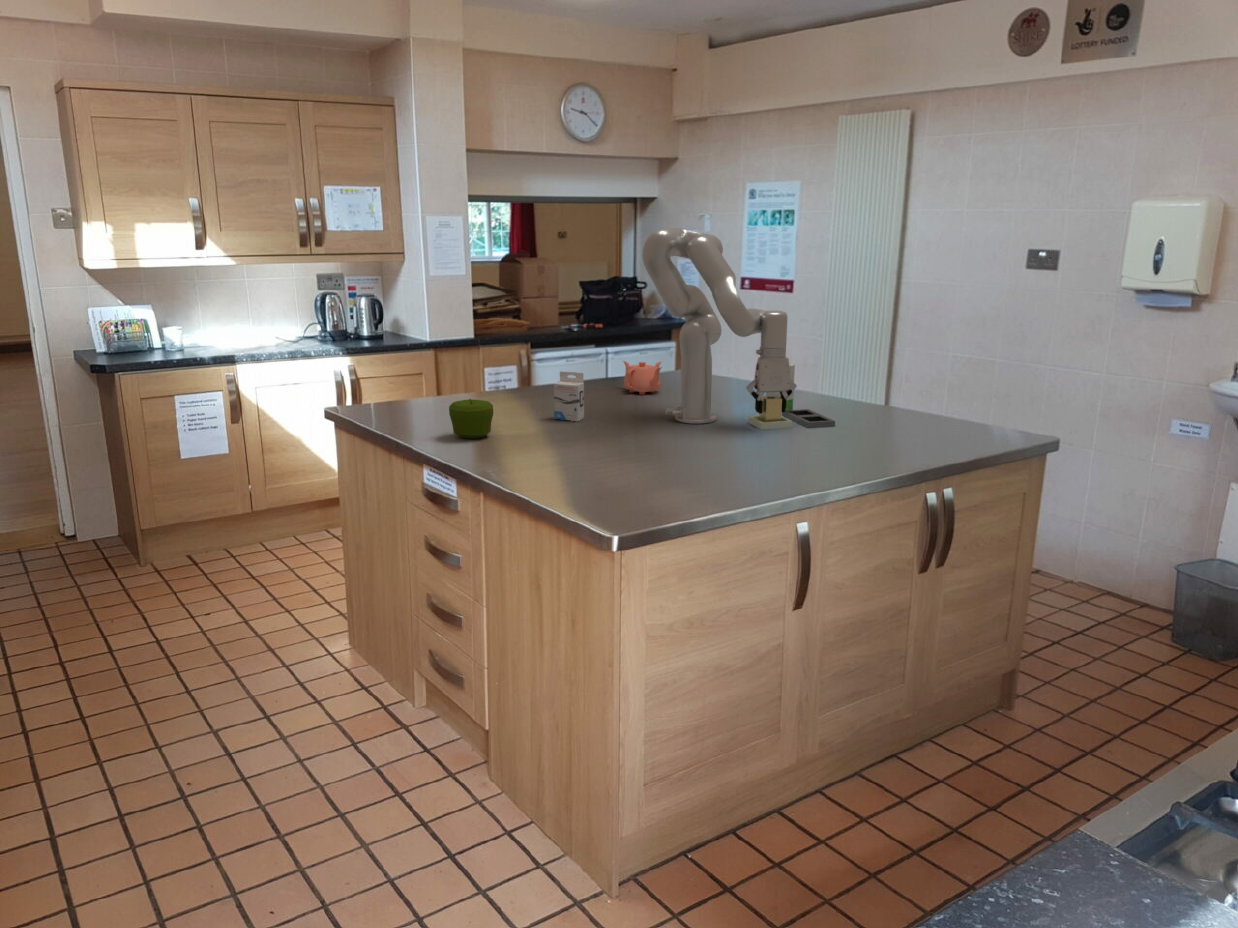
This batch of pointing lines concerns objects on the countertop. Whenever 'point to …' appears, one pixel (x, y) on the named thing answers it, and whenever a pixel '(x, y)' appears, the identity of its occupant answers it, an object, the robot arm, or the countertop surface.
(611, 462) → the countertop surface
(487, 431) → the apple
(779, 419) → the pale yellow tall block
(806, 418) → the grey metal tray
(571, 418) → the ink box
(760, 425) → the tray
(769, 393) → the skincare box
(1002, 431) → the countertop surface
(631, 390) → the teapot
